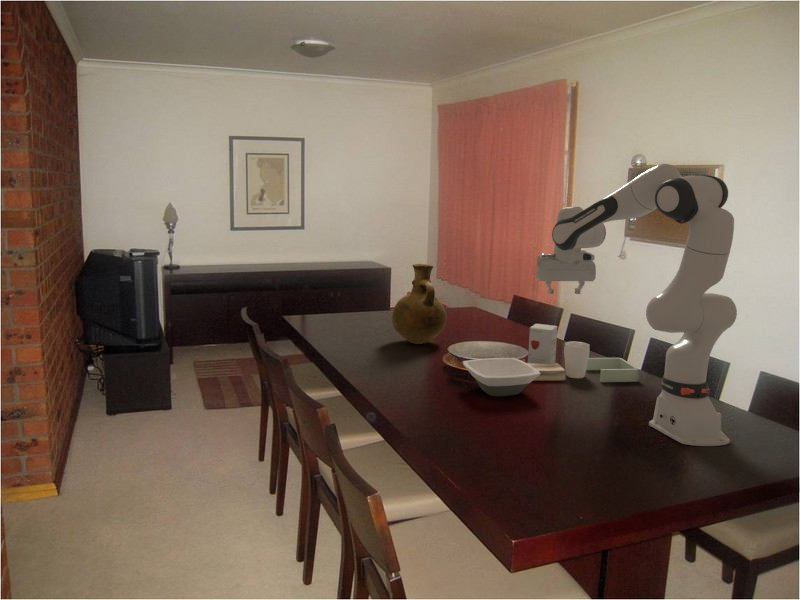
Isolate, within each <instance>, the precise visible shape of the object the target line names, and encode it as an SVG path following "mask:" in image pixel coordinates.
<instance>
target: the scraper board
mask: <svg viewBox="0 0 800 600" xmlns="http://www.w3.org/2000/svg"><path fill="white" fill-rule="evenodd" d="M526 363H527V364H529V365H530V366H532V367H534V368H535V369H537V370H538V371H539V372H540V373H541V374H540V375H539V376H538V377H537V378H535V379H534V380H533V381H565V380H566V369H565V368H564V367H563V366H562V365H560V364H559V363H558V362H555V363H528V362H526Z"/></svg>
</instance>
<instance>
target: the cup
mask: <svg viewBox="0 0 800 600" xmlns="http://www.w3.org/2000/svg"><path fill="white" fill-rule="evenodd" d="M563 355H564V365H565V368H564V370H566V374H565V376H566V377H568V378H572V379H583V378H585V376H586V372H587V370H586V368H587V363H588V358H590V344H589V343H587V342H584V341H575V340H574V341H567V342H565V343H564V348H563Z"/></svg>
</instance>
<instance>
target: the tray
mask: <svg viewBox="0 0 800 600" xmlns="http://www.w3.org/2000/svg"><path fill="white" fill-rule="evenodd" d="M640 370H641V369H639V368H638V367H637V366H635V365H633V364H632V363H630V362H628V361H626V360H625V359H624V358H622V357H589V358H588V363H587V368H586V371H600V374H599V375H600V376H599V382H600V383H627V382H628V383H633V382H635V383H637V382H638V383H639V380H640Z"/></svg>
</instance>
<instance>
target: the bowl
mask: <svg viewBox="0 0 800 600" xmlns="http://www.w3.org/2000/svg"><path fill="white" fill-rule="evenodd" d="M462 363H463V364H462V365H463V366H464V367H465V369H466V370H467V371H468V372H469V374H471V376H472V377H473V378H474V380H475V381H476V383H477V384H478V386H479V387H480V389H481V390H482V391H483V392H484V393H485V394H487V395H488V396H491V397H507V396H508V397H510V396H517V395H519V394H520V393H522V391H523V390H525V388H526V387H527V386H528V385H529V384H530V383H532V382H533V381H535V380H534V379H535V378H537V377H538V376H539V375H540V374H541V373H540V372H539V371H538V370H537V369H535V368H534V367H532V366H530V365H529V364H527V363H528V362H525V361H524V360H521V359H518V358H516V357H494V358H493V357H492V358H490V357H489V358H478V359H470V360H469V359H468V360H462Z"/></svg>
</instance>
